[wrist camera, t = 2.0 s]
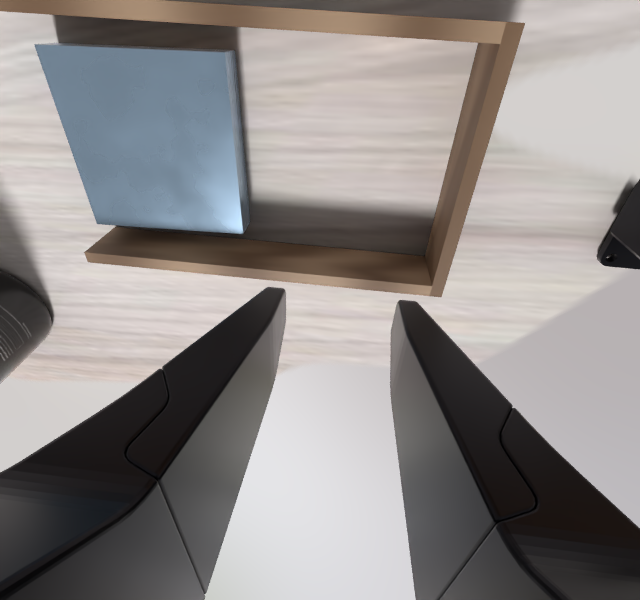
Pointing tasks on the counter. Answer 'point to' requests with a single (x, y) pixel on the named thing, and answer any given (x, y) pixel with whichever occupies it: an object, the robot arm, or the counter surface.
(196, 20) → the open box
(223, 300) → the counter surface
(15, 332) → the supplement bottle
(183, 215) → the cover plate
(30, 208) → the counter surface
